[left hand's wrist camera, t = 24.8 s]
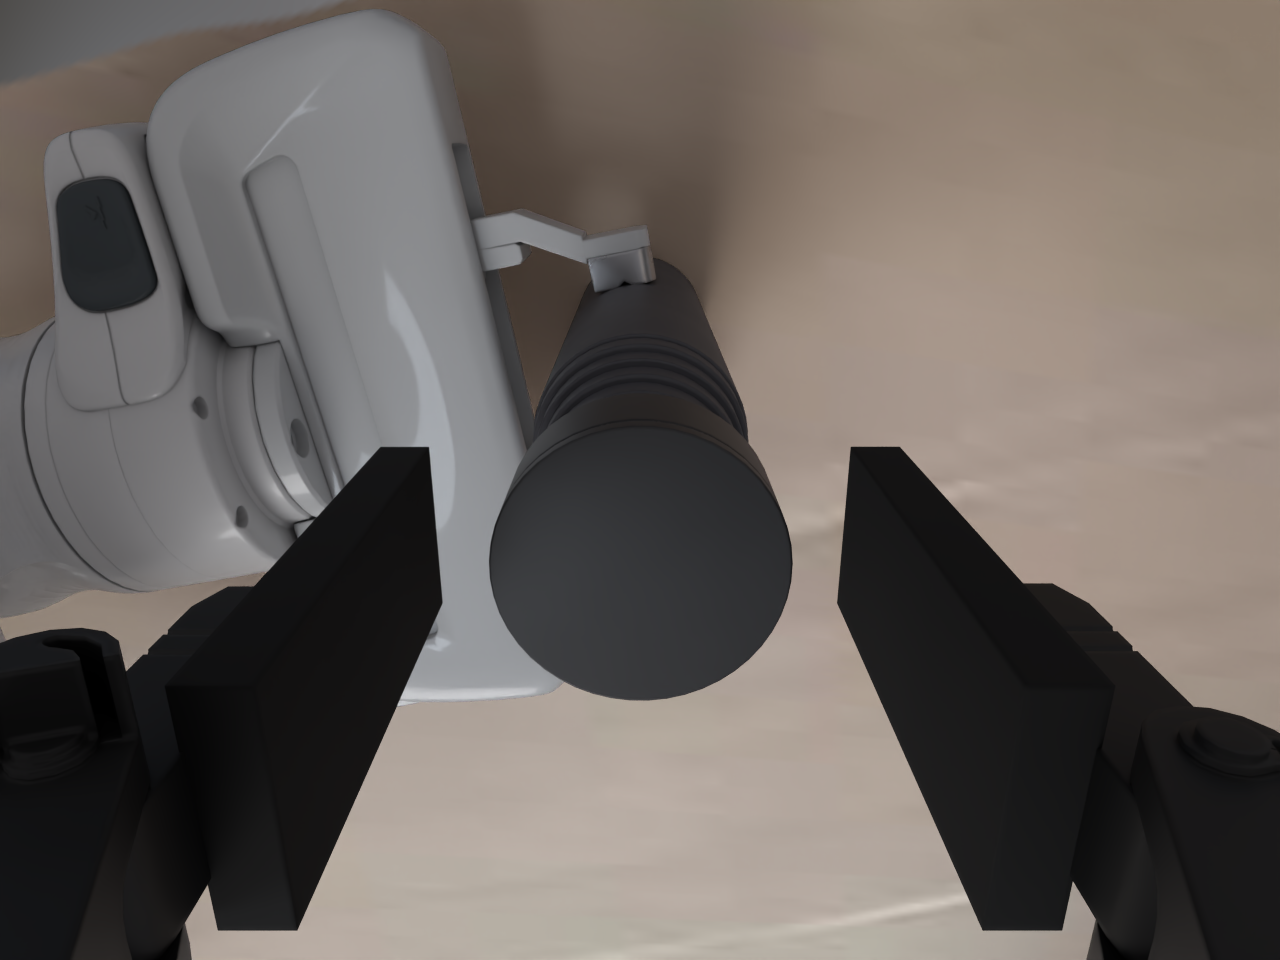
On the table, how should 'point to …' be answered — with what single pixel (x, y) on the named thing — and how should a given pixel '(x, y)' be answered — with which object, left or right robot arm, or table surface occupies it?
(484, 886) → the table surface
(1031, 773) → the left robot arm
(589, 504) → the cap
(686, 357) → the bottle
